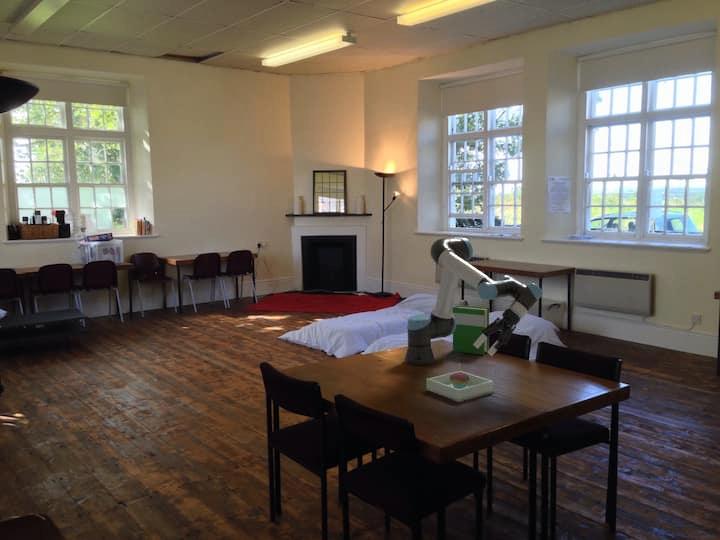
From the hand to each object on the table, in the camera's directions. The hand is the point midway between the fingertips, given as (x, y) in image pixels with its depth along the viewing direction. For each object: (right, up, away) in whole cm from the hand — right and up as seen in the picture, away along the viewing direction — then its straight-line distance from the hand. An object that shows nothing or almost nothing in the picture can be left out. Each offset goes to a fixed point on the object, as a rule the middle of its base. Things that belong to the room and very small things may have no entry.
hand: (482, 350), depth 262 cm
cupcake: (-10, -17, -1) cm, 19 cm away
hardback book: (+7, -9, +66) cm, 67 cm away
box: (-10, -17, -1) cm, 20 cm away
